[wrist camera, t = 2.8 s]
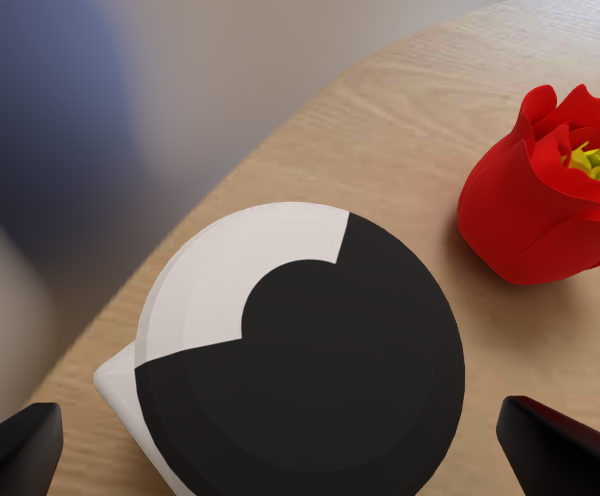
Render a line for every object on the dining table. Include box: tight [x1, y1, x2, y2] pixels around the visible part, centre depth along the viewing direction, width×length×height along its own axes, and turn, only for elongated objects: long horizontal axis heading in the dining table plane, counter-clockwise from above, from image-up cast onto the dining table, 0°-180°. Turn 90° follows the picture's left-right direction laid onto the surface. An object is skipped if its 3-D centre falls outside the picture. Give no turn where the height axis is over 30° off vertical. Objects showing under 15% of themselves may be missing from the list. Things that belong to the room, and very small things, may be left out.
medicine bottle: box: [93, 202, 465, 496], centre depth 12 cm, size 7×7×12 cm
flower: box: [458, 84, 600, 285], centre depth 20 cm, size 8×8×8 cm
